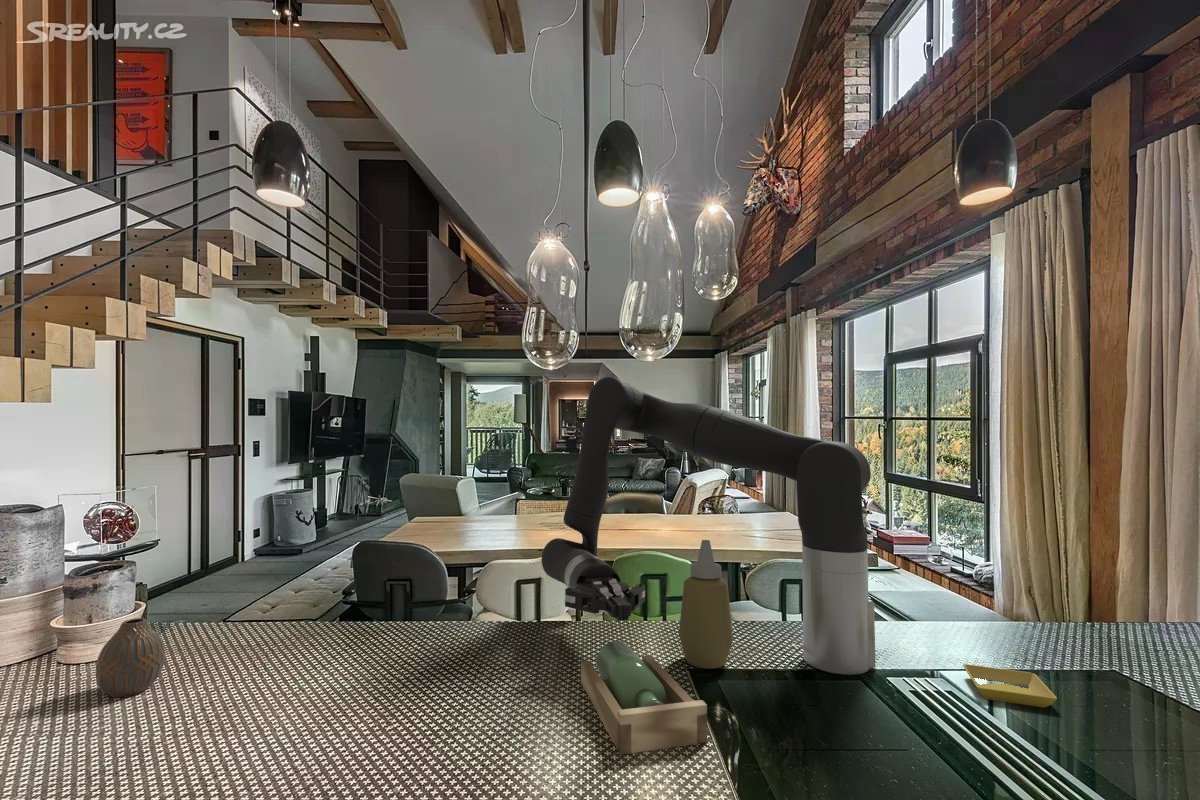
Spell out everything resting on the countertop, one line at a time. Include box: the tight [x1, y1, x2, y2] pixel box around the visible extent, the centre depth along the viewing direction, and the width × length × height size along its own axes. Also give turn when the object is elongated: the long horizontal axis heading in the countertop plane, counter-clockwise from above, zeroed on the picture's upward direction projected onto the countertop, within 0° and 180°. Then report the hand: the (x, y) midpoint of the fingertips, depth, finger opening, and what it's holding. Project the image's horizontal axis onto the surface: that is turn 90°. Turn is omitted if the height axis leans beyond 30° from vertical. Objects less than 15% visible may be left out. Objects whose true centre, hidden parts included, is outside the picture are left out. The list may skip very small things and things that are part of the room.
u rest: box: [580, 654, 708, 755], centre depth 70 cm, size 10×18×4 cm, turn 16°
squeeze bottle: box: [678, 539, 734, 670], centre depth 85 cm, size 8×8×18 cm
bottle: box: [595, 640, 666, 710], centre depth 71 cm, size 5×5×16 cm
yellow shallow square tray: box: [962, 663, 1058, 709], centre depth 76 cm, size 9×9×2 cm
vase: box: [95, 617, 166, 698], centre depth 73 cm, size 7×7×9 cm
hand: (623, 612), depth 76 cm, fingers closed
